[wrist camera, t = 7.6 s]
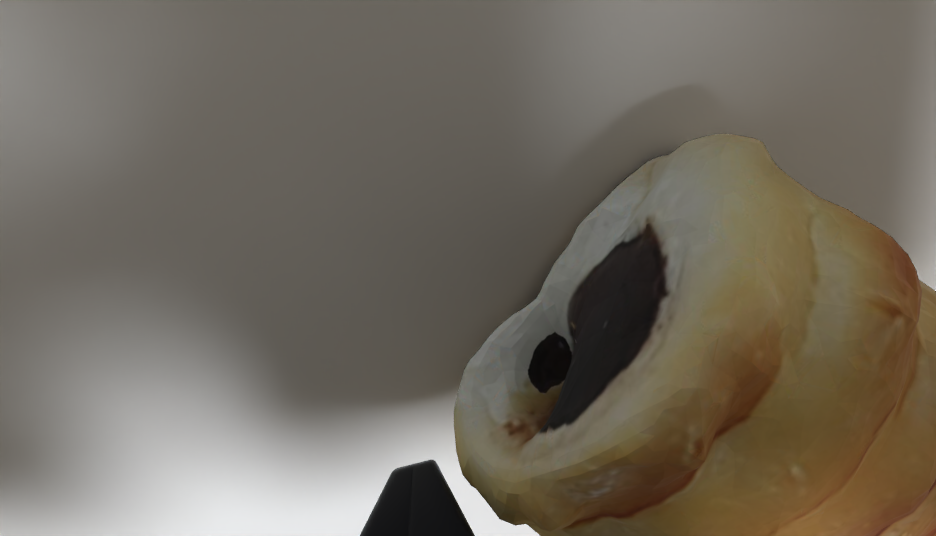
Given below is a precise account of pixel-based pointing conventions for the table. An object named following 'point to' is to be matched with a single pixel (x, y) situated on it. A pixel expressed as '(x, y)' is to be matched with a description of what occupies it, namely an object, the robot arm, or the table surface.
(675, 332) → the pastry
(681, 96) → the table surface
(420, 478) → the robot arm
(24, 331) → the table surface
